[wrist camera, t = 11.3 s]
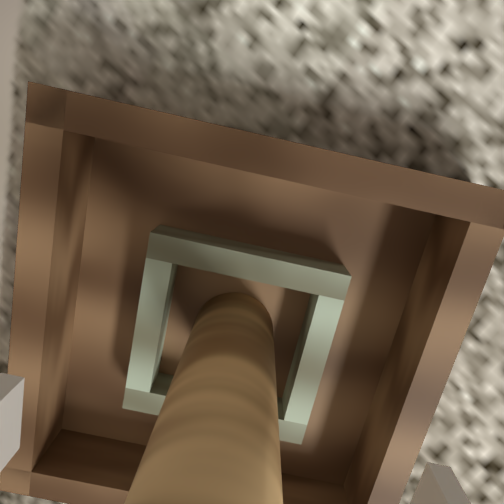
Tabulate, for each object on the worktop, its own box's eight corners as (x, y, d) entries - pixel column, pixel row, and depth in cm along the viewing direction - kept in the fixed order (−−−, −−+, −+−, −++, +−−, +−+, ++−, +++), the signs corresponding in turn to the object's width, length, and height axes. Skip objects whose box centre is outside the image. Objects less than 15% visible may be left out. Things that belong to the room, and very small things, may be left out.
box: (72, 93, 20) (28, 81, 16) (472, 185, 21) (520, 194, 17) (38, 438, 26) (-1, 490, 22) (358, 502, 26) (375, 563, 22)
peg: (202, 284, 22) (108, 501, 9) (281, 301, 22) (309, 542, 9) (188, 355, 23) (85, 646, 10) (263, 371, 23) (263, 680, 10)
